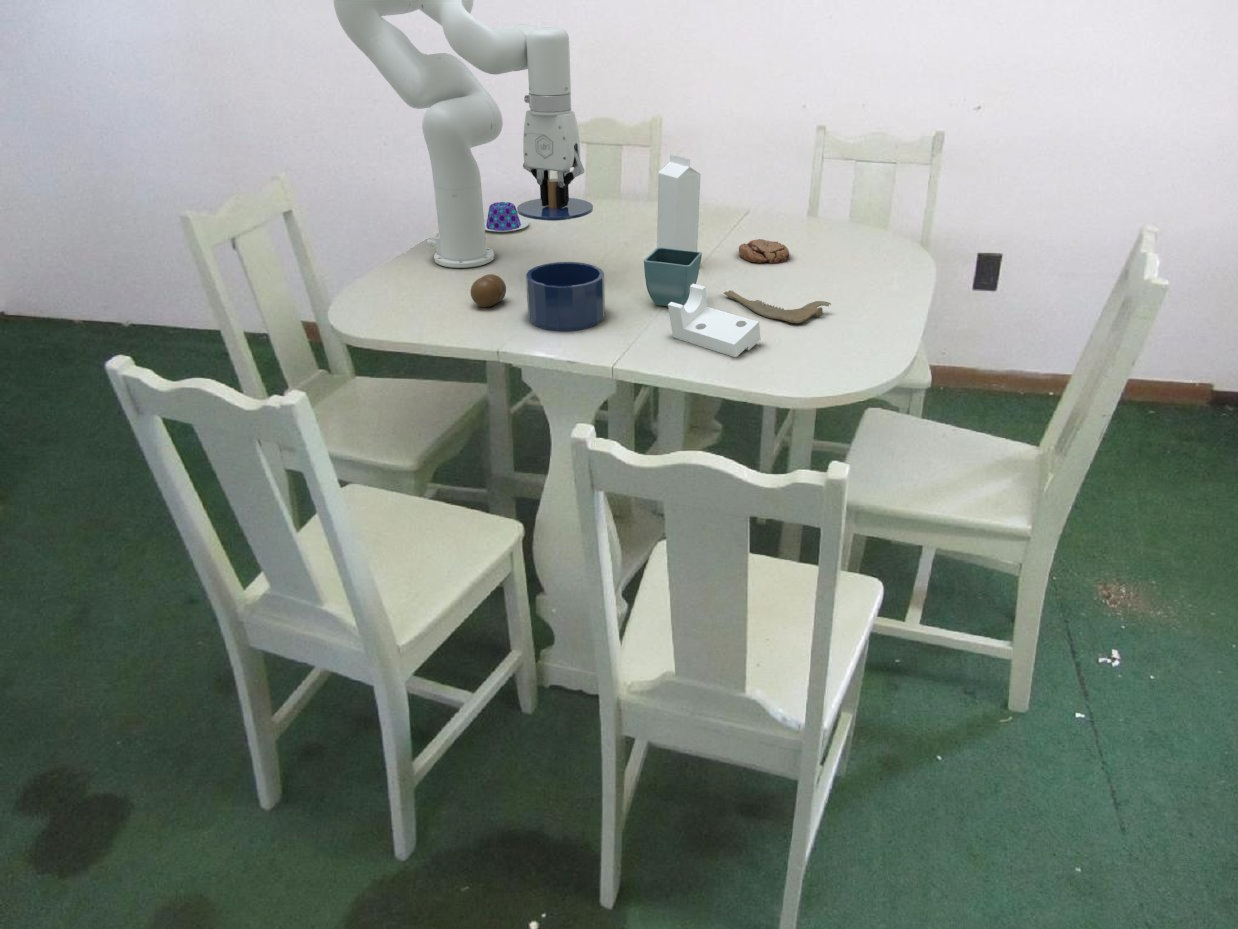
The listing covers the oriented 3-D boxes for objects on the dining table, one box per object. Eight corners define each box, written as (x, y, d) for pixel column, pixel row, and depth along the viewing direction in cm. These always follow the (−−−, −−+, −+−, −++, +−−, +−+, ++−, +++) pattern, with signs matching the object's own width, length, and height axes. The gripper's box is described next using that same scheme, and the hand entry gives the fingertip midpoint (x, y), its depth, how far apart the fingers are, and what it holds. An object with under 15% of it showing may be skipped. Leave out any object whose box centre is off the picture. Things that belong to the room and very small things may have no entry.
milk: (674, 273, 184) (677, 161, 173) (656, 265, 188) (657, 155, 177) (697, 267, 187) (701, 156, 176) (678, 259, 191) (681, 151, 180)
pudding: (512, 236, 206) (510, 213, 203) (467, 230, 210) (465, 207, 208) (538, 223, 215) (537, 201, 213) (495, 217, 220) (493, 195, 217)
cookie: (791, 264, 188) (792, 250, 187) (740, 264, 189) (741, 249, 187) (785, 249, 197) (787, 236, 195) (736, 249, 197) (737, 235, 196)
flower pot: (700, 297, 172) (702, 251, 167) (688, 313, 164) (690, 265, 160) (656, 292, 174) (657, 246, 169) (642, 308, 167) (642, 260, 162)
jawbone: (816, 332, 158) (816, 321, 157) (706, 314, 166) (706, 304, 165) (830, 311, 164) (831, 300, 163) (724, 295, 173) (724, 285, 171)
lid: (502, 217, 172) (499, 184, 168) (542, 200, 183) (541, 168, 180) (569, 227, 166) (568, 192, 163) (606, 208, 177) (606, 175, 174)
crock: (513, 323, 161) (511, 279, 157) (553, 299, 171) (552, 257, 167) (580, 336, 155) (579, 292, 151) (617, 310, 166) (617, 268, 162)
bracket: (673, 341, 156) (667, 304, 151) (698, 320, 159) (693, 283, 154) (736, 362, 148) (732, 323, 143) (760, 339, 152) (757, 301, 147)
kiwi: (490, 313, 165) (488, 284, 162) (466, 308, 167) (463, 280, 164) (514, 299, 171) (512, 271, 168) (490, 295, 173) (488, 267, 170)
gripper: (501, 103, 165) (508, 205, 174) (579, 109, 158) (582, 215, 167) (523, 97, 170) (529, 196, 180) (599, 103, 164) (601, 205, 173)
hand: (554, 204), depth 173 cm, fingers closed on lid, 2 cm apart
